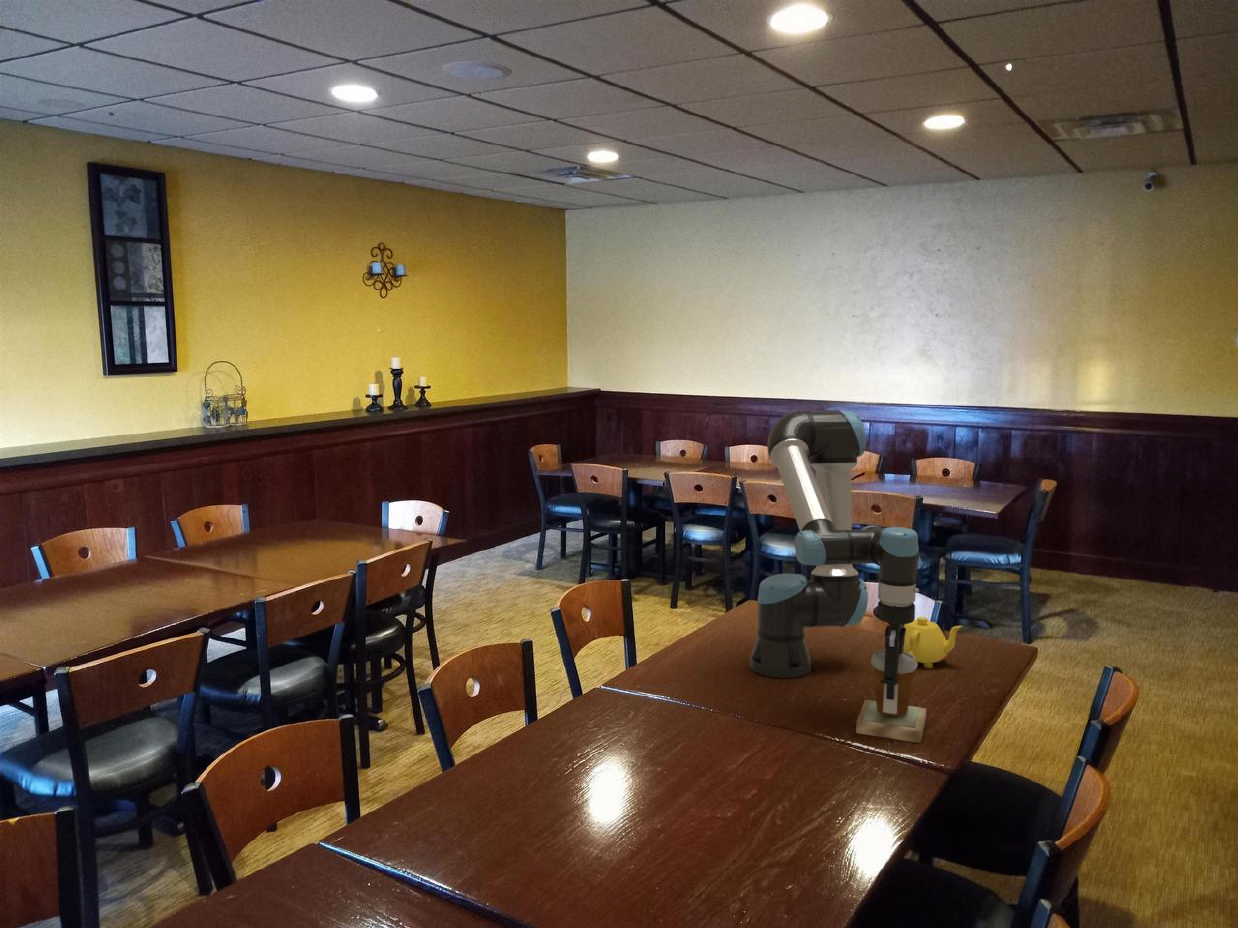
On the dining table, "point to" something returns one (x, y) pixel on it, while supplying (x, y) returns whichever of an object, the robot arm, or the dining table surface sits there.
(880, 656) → the disposable coffee cup
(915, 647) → the teapot
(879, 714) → the trivet
